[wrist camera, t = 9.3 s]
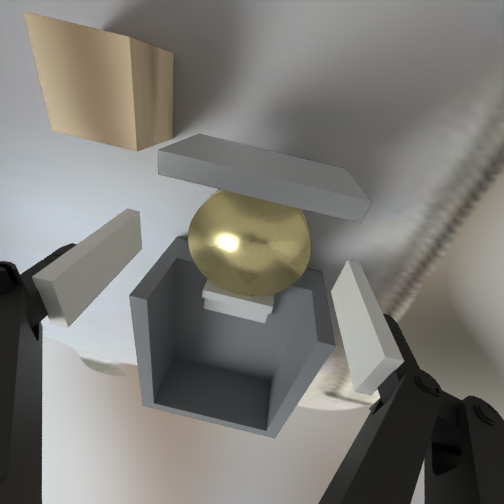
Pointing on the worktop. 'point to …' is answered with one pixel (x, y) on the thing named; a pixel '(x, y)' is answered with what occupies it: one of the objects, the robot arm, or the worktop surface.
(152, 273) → the box
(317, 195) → the grey i-beam
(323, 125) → the worktop surface
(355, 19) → the worktop surface
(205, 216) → the disc
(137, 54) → the pedestal
